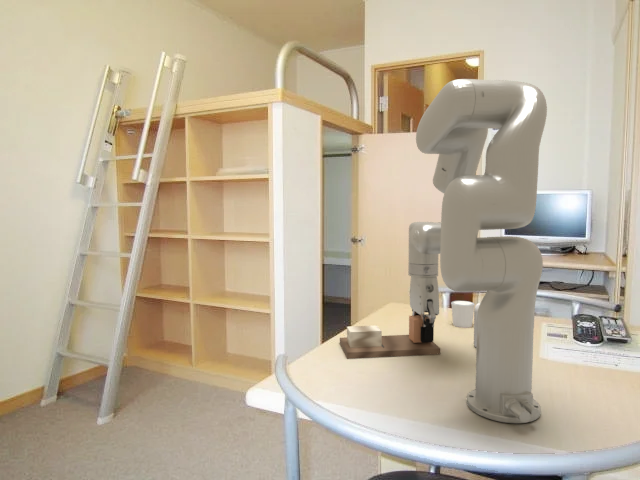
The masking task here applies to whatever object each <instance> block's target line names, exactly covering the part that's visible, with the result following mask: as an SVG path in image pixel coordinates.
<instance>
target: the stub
mask: <svg viewBox="0 0 640 480" xmlns="http://www.w3.org/2000/svg"><path fill="white" fill-rule="evenodd" d="M427 318H428V317H425V321H426V319H427ZM421 327H422V320H421V315H416V316H412V315H408V335H409V338H410V339H411V340H412V341H413V342H414V343H417V342H421Z"/></svg>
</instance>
